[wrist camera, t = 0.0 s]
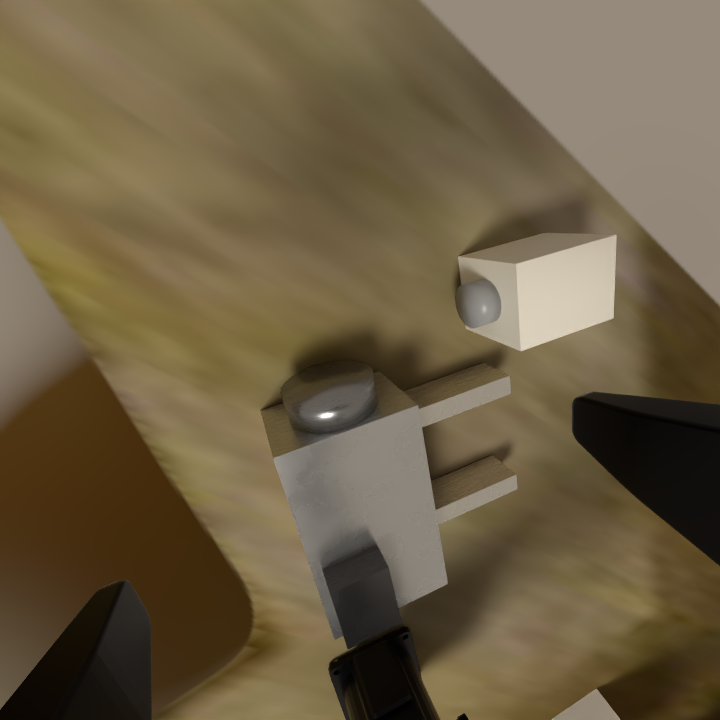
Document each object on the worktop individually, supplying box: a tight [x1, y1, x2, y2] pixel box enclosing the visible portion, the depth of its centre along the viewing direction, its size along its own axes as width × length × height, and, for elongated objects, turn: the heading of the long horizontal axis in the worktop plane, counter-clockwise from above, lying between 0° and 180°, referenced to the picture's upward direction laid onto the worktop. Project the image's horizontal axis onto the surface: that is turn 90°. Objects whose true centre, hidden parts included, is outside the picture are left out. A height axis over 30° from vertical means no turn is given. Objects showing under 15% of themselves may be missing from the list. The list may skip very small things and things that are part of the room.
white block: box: [455, 233, 617, 351], centre depth 22 cm, size 4×7×5 cm, turn 102°
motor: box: [261, 360, 517, 649], centre depth 23 cm, size 14×14×6 cm
